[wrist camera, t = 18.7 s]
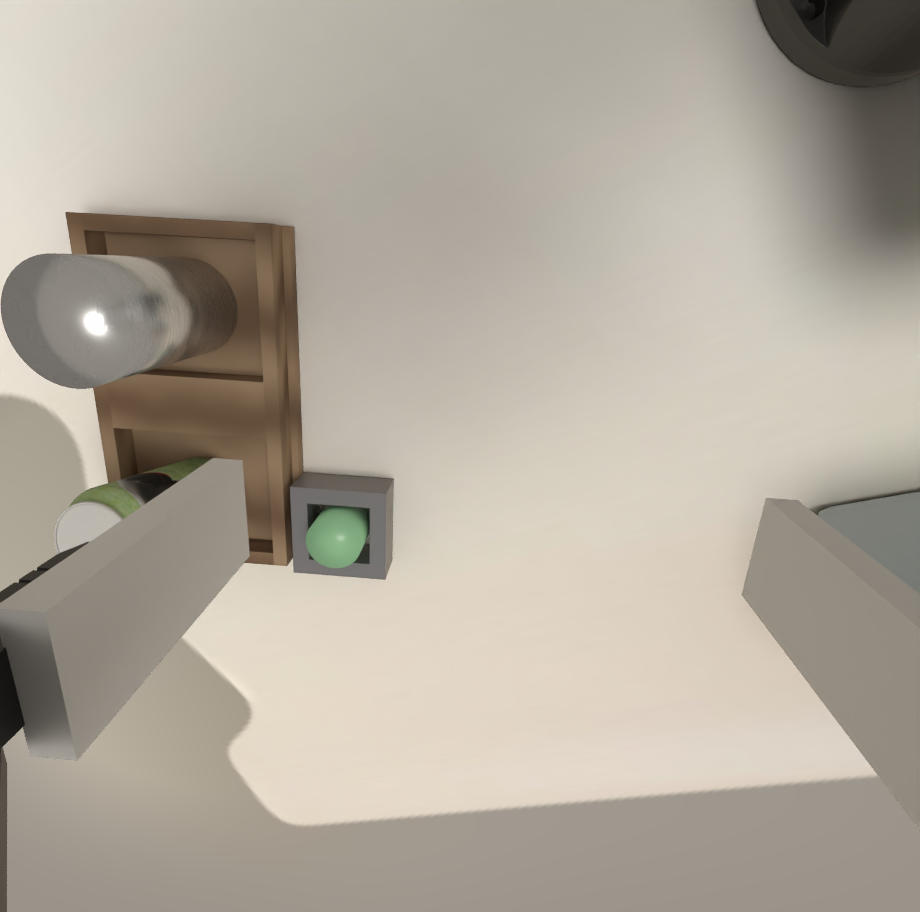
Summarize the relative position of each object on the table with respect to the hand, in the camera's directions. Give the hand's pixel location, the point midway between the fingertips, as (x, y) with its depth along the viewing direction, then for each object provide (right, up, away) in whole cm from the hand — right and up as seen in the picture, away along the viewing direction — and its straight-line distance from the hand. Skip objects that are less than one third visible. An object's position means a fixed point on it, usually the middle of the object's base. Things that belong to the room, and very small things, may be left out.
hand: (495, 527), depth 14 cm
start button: (-10, -3, +31) cm, 32 cm away
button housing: (-10, -3, +30) cm, 31 cm away
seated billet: (-19, +12, +24) cm, 33 cm away
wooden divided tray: (-20, +6, +27) cm, 34 cm away
